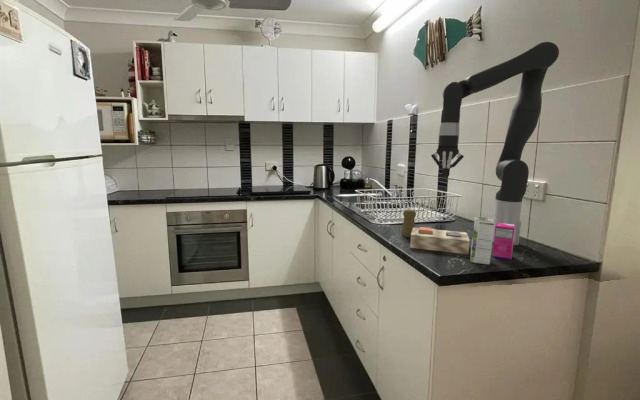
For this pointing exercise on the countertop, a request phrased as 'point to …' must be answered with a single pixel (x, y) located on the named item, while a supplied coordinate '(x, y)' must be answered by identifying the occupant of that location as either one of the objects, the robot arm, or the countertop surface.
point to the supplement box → (503, 241)
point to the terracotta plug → (425, 230)
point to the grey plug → (453, 234)
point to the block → (440, 241)
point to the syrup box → (482, 240)
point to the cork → (408, 222)
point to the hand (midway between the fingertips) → (445, 177)
